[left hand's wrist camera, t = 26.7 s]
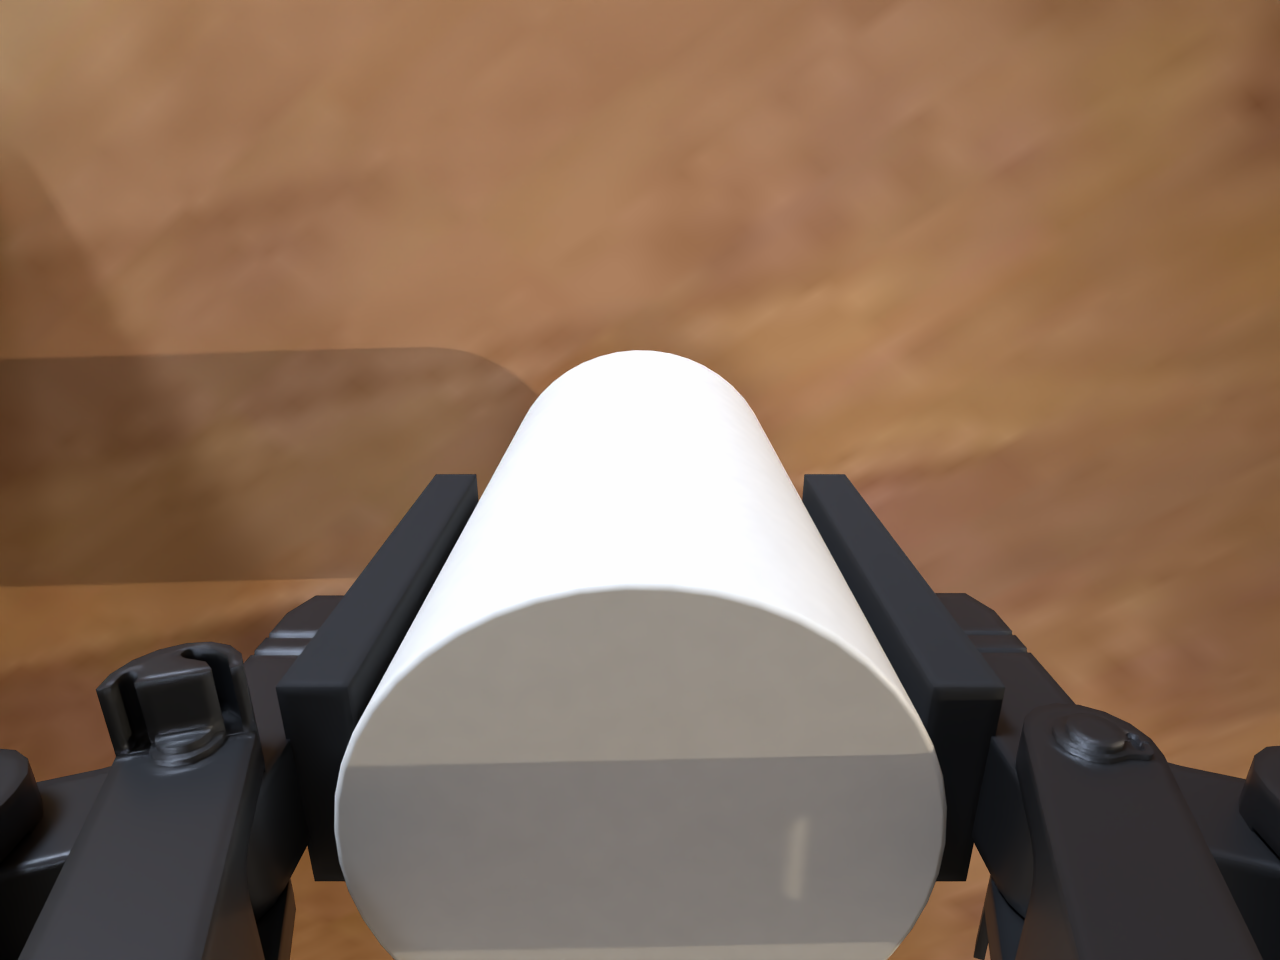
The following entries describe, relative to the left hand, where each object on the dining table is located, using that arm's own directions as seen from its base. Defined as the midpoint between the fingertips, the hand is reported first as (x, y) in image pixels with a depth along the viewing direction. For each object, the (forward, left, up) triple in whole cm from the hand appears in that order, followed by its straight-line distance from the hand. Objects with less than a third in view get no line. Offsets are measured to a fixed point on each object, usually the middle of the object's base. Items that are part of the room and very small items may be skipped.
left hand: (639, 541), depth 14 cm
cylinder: (0, 0, -4) cm, 4 cm away
